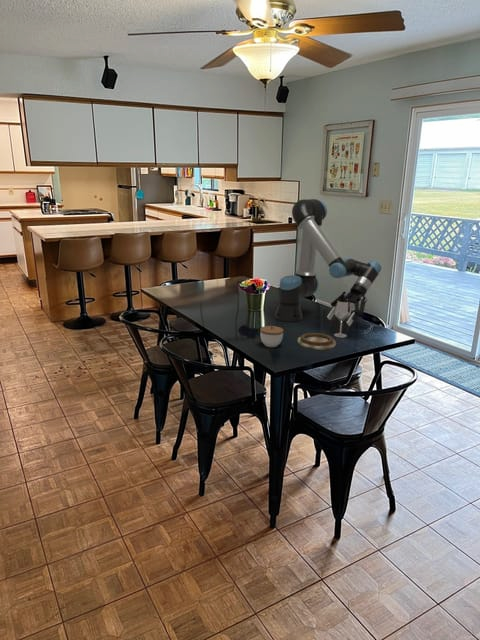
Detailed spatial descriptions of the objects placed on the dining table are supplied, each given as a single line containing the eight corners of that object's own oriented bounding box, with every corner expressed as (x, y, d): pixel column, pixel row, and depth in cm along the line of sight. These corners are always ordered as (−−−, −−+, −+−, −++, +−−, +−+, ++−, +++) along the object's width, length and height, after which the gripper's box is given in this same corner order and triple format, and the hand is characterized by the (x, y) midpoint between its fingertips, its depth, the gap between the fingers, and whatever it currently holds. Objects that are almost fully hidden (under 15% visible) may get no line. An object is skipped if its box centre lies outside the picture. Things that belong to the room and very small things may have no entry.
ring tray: (294, 347, 221) (295, 341, 220) (300, 335, 238) (300, 330, 237) (334, 351, 217) (334, 345, 216) (337, 339, 233) (337, 334, 233)
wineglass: (345, 339, 234) (348, 303, 229) (329, 336, 238) (332, 301, 233) (350, 335, 241) (354, 300, 236) (335, 332, 245) (338, 298, 240)
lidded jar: (284, 349, 218) (285, 329, 216) (261, 349, 217) (262, 329, 215) (280, 341, 228) (281, 322, 226) (258, 341, 228) (259, 322, 225)
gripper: (383, 296, 234) (360, 331, 229) (344, 287, 252) (323, 320, 247) (378, 287, 230) (354, 322, 225) (339, 278, 247) (316, 311, 242)
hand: (338, 321), depth 236 cm, fingers open, 12 cm apart
